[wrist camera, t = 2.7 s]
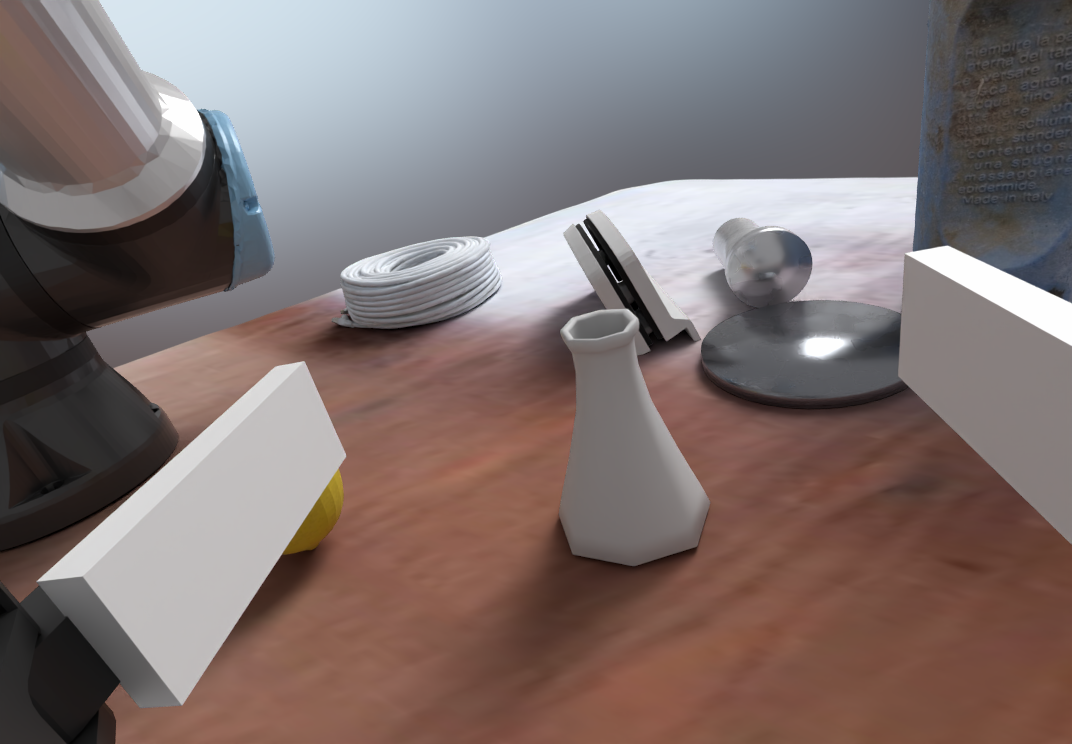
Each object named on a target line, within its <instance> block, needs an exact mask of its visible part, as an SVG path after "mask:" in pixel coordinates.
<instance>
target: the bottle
mask: <svg viewBox="0 0 1072 744" xmlns="http://www.w3.org/2000/svg"><path fill="white" fill-rule="evenodd" d="M943 246H950V247H952V248H954V249H956V250H958V251H960V252H962V253H965V254H967V255H969V256H971V257H973V258H975V259H978V260H980V261H982V262H984V263H986V264H988V265H990V266H993V267H995V268H997V269H999V270H1001V271H1003V272H1005V273H1008V274H1010V275H1012V276H1014V277H1016V278H1018V279H1020V280H1023V281H1025V282H1027V283H1029V284H1031V285H1033V286H1035V287H1038V288H1040V289H1042V290H1044V291H1046V292H1048V293H1050V294H1053V295H1055V296H1057V297H1059V298H1061V299H1063V300H1065V301H1068V302H1070V303H1072V0H930V7H929V19H928V41H927V54H926V71H925V80H924V101H923V111H922V124H921V140H920V155H919V170H918V185H917V201H916V213H915V231H914V241H913V252H915V251H920V250H926V249H932V248H937V247H943Z"/></svg>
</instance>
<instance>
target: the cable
mask: <svg viewBox="0 0 1072 744" xmlns="http://www.w3.org/2000/svg"><path fill="white" fill-rule="evenodd" d="M340 277H341V279H342V280H341V288H342V290H343V293H344V297H345V302H346V309H344V310H341V314H344V315H342V317H341V318H332V322H334V323H337V324H339V325H342V326H346V327H352V328H354V327H360V328H380V329H393V328H402V327H408V326H416V325H422V324H428V323H433V322H437V321H441V320H445V319H448V318H451V317H454V316H457V315H460V314H462V313H464V312H466V311H469V310H470V309H472V308H474V307H476V306H477V305H479V304H480V303H482V302H483V301H484V300H485V299H487V298H488V297H489V296H491V295H492V294H493V293H494V292H495V291H496V290H497V289H498V288H499V287H500V285H501V283H502V275H501V274H500V270H499V269H498V266H497V264H496V263H495V261H494V258H493V256H492V252H491V251H490V242H489V241H488V240H487V239H485V238H481V237H472V236H471V237H455V238H444V239H439V240H433V241H428V242H423V243H418V244H414V245H410V246H406V247H403V248H399V249H396V250H392V251H390V252H386V253H382V254H380V255H375V256H372V257H369V258H366V259H363V260H361V261H358V262H356V263H354V264H352V265H350V266H349V267H347V268H346V269H344V270H343V271H342V273H341V275H340ZM345 314H349V315H350V316H351V318H352V320H353V321H351V320H349V318H348V316H347V315H345Z"/></svg>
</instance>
